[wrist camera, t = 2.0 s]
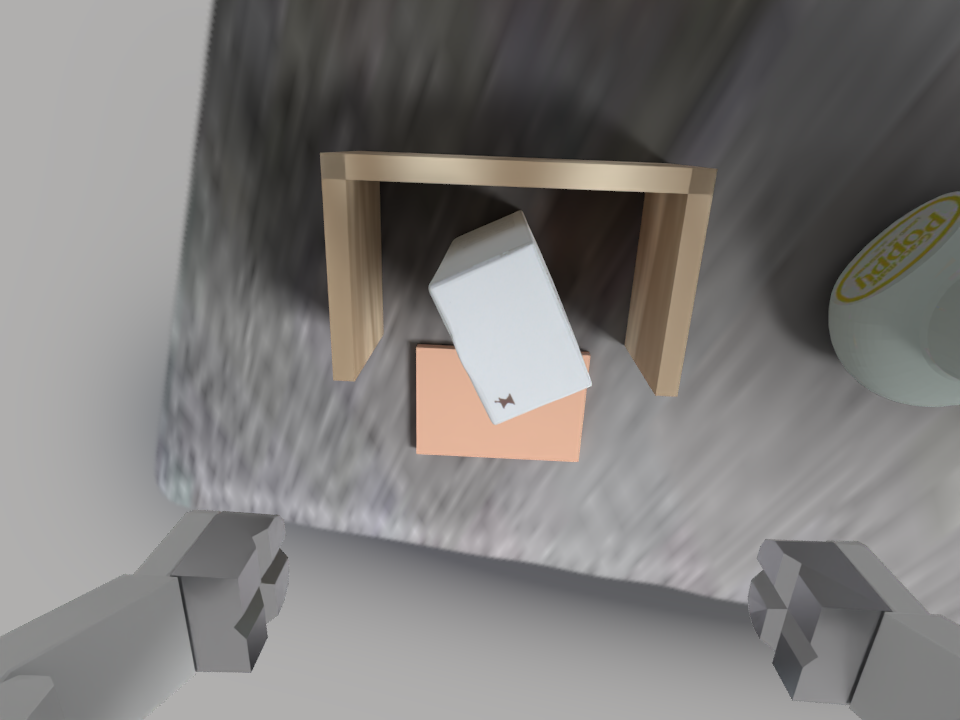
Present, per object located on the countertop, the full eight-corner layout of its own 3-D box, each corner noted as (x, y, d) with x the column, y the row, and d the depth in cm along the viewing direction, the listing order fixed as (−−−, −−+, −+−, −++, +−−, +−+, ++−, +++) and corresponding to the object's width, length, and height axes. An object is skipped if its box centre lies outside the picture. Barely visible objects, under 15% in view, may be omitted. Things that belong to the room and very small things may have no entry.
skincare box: (563, 305, 32) (597, 391, 21) (494, 334, 33) (491, 431, 22) (522, 204, 30) (535, 239, 19) (449, 236, 31) (421, 288, 20)
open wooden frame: (668, 163, 29) (717, 168, 23) (641, 346, 33) (677, 396, 26) (359, 150, 30) (319, 152, 23) (366, 333, 33) (333, 380, 27)
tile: (588, 351, 33) (590, 355, 32) (577, 456, 36) (578, 461, 35) (417, 344, 33) (416, 347, 33) (418, 449, 36) (416, 453, 35)
